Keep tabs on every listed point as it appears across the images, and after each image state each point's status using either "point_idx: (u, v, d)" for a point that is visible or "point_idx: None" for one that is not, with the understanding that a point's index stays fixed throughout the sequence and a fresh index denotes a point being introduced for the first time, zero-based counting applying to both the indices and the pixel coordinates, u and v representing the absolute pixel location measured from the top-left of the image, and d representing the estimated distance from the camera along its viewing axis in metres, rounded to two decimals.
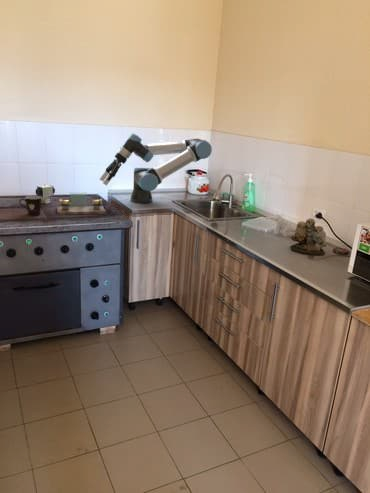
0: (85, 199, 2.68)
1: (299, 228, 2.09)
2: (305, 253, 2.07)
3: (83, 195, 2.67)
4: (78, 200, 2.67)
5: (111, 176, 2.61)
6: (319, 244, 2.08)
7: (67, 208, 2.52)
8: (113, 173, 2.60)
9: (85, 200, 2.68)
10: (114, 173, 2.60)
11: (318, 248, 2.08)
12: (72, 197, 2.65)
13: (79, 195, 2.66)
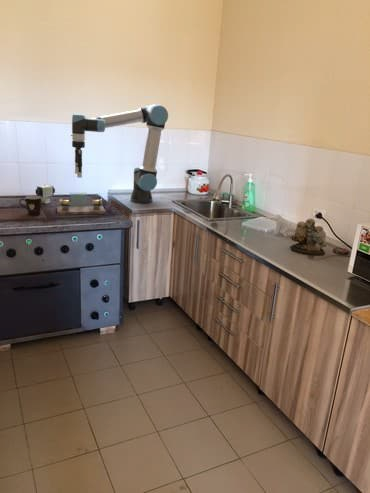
0: (85, 199, 2.68)
1: (299, 228, 2.09)
2: (305, 253, 2.07)
3: (83, 195, 2.67)
4: (78, 200, 2.67)
5: (80, 167, 2.54)
6: (319, 244, 2.08)
7: (67, 208, 2.52)
8: (79, 163, 2.52)
9: (85, 200, 2.68)
10: (80, 162, 2.53)
11: (318, 248, 2.08)
12: (72, 197, 2.65)
13: (79, 195, 2.66)
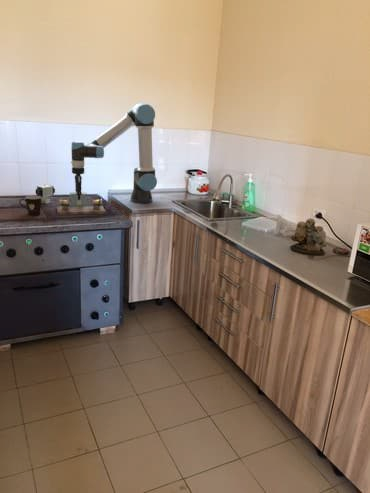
0: (85, 199, 2.68)
1: (299, 228, 2.09)
2: (305, 253, 2.07)
3: (83, 195, 2.66)
4: None
5: (79, 195, 2.64)
6: (319, 244, 2.08)
7: (67, 208, 2.52)
8: (78, 192, 2.61)
9: (85, 200, 2.68)
10: (79, 191, 2.61)
11: (318, 248, 2.08)
12: (72, 197, 2.65)
13: None
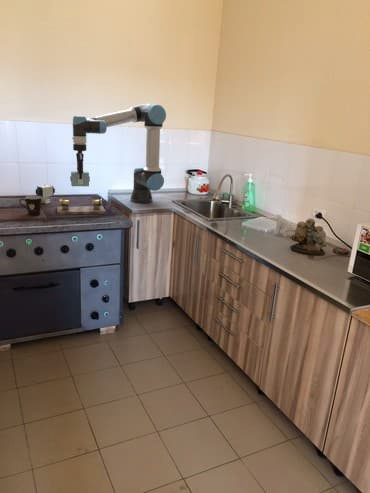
0: (87, 178, 2.50)
1: (299, 228, 2.09)
2: (305, 253, 2.07)
3: (85, 174, 2.49)
4: None
5: (80, 173, 2.46)
6: (319, 244, 2.08)
7: (67, 208, 2.52)
8: (80, 170, 2.44)
9: (87, 179, 2.51)
10: (81, 169, 2.44)
11: (318, 248, 2.08)
12: (73, 176, 2.48)
13: None
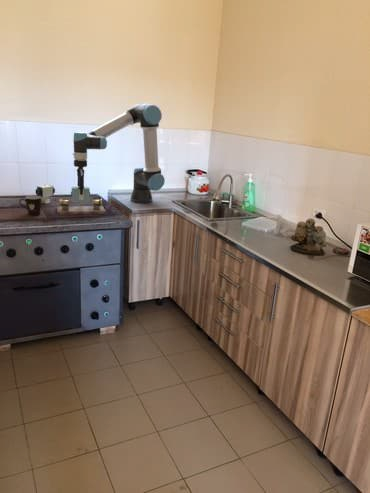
0: (88, 194, 2.52)
1: (299, 228, 2.09)
2: (305, 253, 2.07)
3: (85, 189, 2.51)
4: None
5: (81, 189, 2.48)
6: (319, 244, 2.08)
7: (67, 208, 2.52)
8: (81, 186, 2.46)
9: (88, 195, 2.52)
10: (82, 185, 2.46)
11: (318, 248, 2.08)
12: (74, 191, 2.49)
13: None
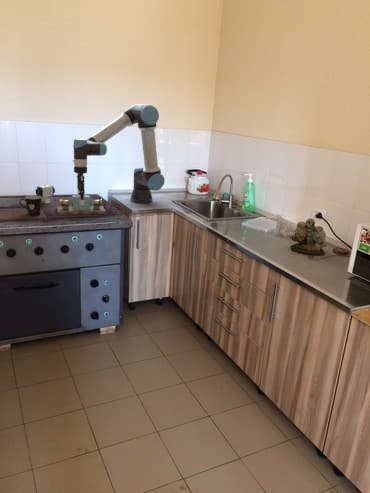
0: (88, 202, 2.54)
1: (299, 228, 2.09)
2: (305, 253, 2.07)
3: (86, 198, 2.53)
4: None
5: (82, 194, 2.47)
6: (319, 244, 2.08)
7: (67, 208, 2.52)
8: (81, 191, 2.45)
9: (88, 203, 2.54)
10: (82, 190, 2.45)
11: (318, 248, 2.08)
12: (74, 200, 2.51)
13: None
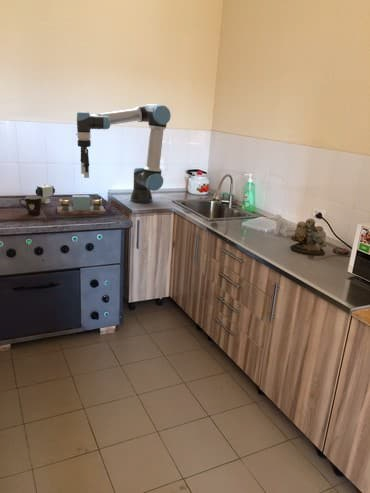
0: (88, 202, 2.54)
1: (299, 228, 2.09)
2: (305, 253, 2.07)
3: (86, 198, 2.53)
4: (81, 203, 2.53)
5: (86, 166, 2.45)
6: (319, 244, 2.08)
7: (67, 208, 2.52)
8: (86, 163, 2.43)
9: (88, 203, 2.54)
10: (87, 162, 2.43)
11: (318, 248, 2.08)
12: (74, 200, 2.51)
13: (82, 198, 2.52)
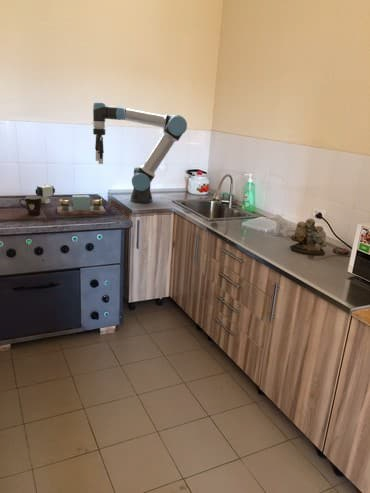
0: (88, 202, 2.54)
1: (299, 228, 2.09)
2: (305, 253, 2.07)
3: (86, 198, 2.53)
4: (81, 203, 2.53)
5: (101, 153, 2.63)
6: (319, 244, 2.08)
7: (67, 208, 2.52)
8: (101, 150, 2.61)
9: (88, 203, 2.54)
10: (101, 149, 2.61)
11: (318, 248, 2.08)
12: (74, 200, 2.51)
13: (82, 198, 2.52)
